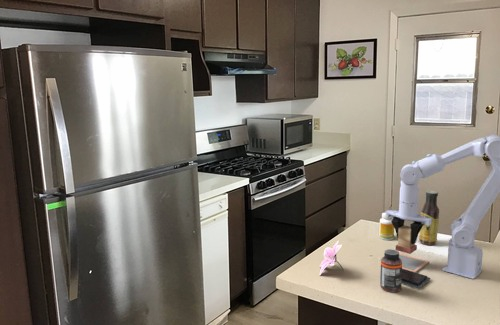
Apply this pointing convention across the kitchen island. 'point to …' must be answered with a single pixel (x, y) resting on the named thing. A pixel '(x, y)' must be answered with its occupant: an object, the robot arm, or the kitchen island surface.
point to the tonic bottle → (431, 211)
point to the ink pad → (414, 279)
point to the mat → (412, 263)
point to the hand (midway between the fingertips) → (406, 241)
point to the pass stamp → (405, 240)
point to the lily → (330, 257)
